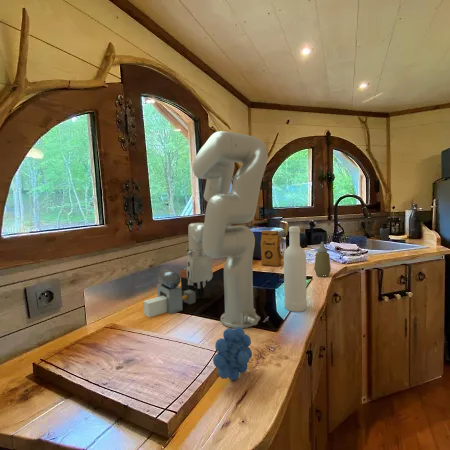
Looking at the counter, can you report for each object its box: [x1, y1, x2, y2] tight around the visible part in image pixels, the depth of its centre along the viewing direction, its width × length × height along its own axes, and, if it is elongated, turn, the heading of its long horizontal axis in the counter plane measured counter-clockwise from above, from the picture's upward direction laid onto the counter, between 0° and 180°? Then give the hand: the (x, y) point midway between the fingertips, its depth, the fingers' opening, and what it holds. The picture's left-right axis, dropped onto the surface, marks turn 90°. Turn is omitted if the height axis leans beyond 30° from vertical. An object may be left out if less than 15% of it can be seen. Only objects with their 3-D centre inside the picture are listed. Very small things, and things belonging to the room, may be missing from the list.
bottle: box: [283, 225, 308, 313], centre depth 96 cm, size 8×8×30 cm
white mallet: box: [143, 290, 197, 318], centre depth 101 cm, size 4×20×5 cm, turn 132°
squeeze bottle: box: [313, 241, 332, 278], centre depth 138 cm, size 8×8×18 cm
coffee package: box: [260, 230, 282, 267], centre depth 167 cm, size 10×12×22 cm
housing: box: [156, 268, 183, 315], centre depth 101 cm, size 11×6×14 cm, turn 37°
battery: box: [180, 266, 196, 291], centre depth 124 cm, size 4×7×10 cm, turn 45°
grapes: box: [212, 327, 253, 381], centre depth 57 cm, size 12×7×12 cm, turn 136°
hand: (200, 296), depth 109 cm, fingers closed
